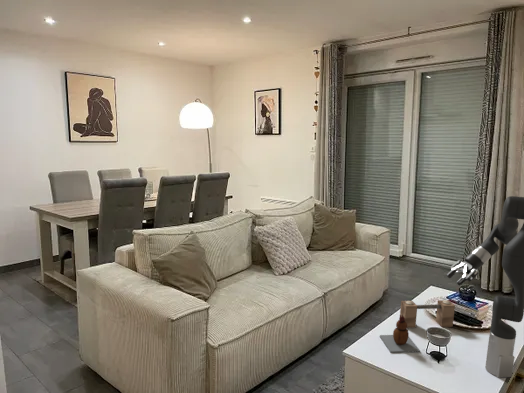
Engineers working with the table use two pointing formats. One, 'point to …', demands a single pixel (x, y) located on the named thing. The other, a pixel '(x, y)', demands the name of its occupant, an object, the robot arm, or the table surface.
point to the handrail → (443, 308)
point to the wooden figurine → (401, 331)
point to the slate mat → (398, 348)
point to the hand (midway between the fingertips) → (452, 280)
